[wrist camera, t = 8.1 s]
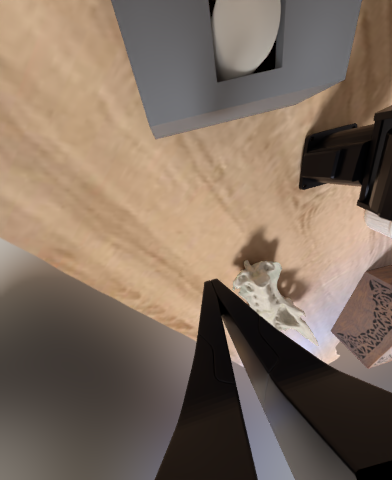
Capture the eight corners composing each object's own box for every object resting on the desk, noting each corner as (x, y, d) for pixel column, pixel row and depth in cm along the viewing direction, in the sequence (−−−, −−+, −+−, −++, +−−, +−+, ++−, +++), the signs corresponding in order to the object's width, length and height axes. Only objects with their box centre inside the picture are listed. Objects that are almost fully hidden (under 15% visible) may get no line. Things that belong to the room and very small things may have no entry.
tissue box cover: (364, 270, 33) (433, 307, 24) (415, 257, 34) (499, 288, 26) (329, 330, 46) (367, 368, 37) (368, 319, 47) (413, 353, 38)
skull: (263, 368, 30) (229, 310, 18) (247, 330, 37) (214, 270, 25) (318, 347, 29) (321, 271, 17) (291, 313, 36) (278, 240, 24)
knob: (245, 22, 12) (283, -51, 8) (247, 92, 14) (278, 62, 10) (195, 32, 12) (209, -37, 8) (205, 102, 14) (220, 76, 10)
